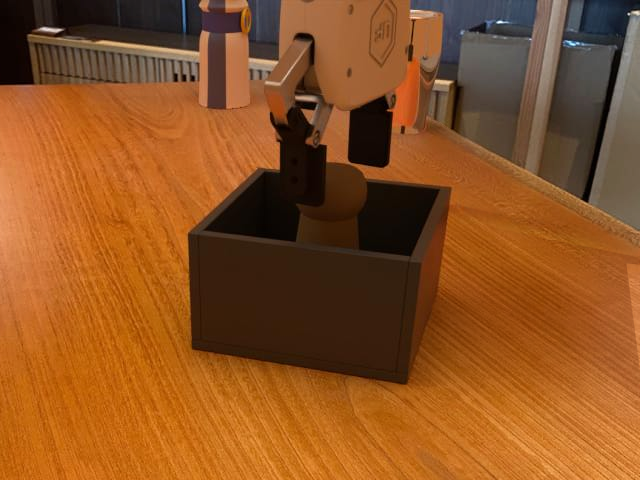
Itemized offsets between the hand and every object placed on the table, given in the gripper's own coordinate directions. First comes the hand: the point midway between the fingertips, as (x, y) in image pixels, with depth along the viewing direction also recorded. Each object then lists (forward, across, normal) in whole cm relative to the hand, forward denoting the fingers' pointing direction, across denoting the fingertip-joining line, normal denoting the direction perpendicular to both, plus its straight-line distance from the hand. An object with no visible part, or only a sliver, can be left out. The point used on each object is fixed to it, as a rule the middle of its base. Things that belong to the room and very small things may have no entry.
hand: (336, 182), depth 59 cm
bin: (+11, -1, 0) cm, 11 cm away
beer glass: (+11, +49, +16) cm, 53 cm away
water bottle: (+11, +54, +48) cm, 73 cm away
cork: (+10, 0, 0) cm, 10 cm away
